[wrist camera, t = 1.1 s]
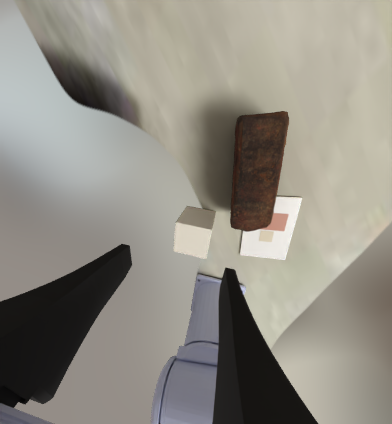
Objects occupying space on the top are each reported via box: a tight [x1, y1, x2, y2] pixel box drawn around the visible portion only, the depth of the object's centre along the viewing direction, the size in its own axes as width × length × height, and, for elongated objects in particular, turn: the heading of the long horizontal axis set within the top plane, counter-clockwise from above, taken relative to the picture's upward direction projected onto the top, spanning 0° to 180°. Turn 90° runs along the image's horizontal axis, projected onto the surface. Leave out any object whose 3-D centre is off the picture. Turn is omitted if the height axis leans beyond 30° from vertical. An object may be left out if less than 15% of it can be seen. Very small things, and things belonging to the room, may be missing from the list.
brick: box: [230, 111, 289, 232], centre depth 15 cm, size 11×4×5 cm, turn 2°
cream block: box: [174, 206, 216, 259], centre depth 19 cm, size 4×4×5 cm
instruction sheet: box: [240, 196, 302, 260], centre depth 20 cm, size 9×6×1 cm, turn 1°
